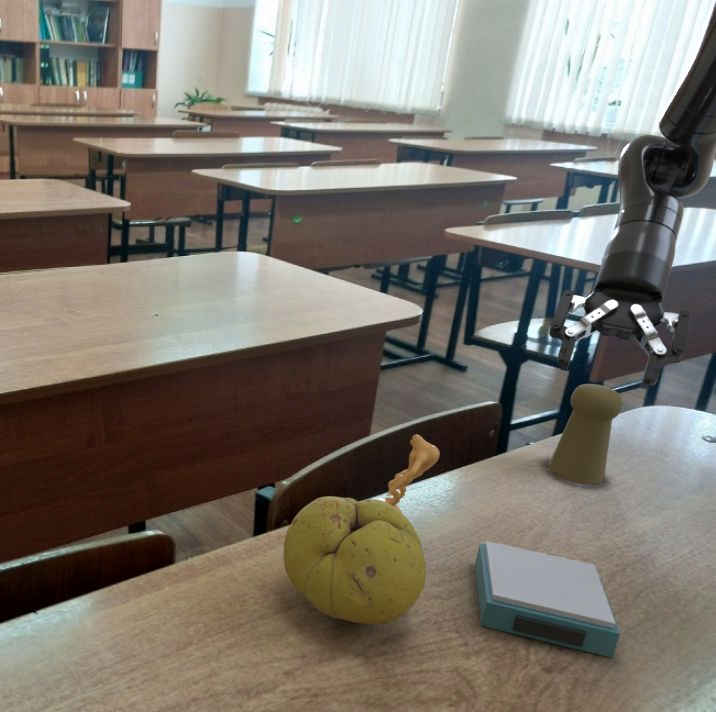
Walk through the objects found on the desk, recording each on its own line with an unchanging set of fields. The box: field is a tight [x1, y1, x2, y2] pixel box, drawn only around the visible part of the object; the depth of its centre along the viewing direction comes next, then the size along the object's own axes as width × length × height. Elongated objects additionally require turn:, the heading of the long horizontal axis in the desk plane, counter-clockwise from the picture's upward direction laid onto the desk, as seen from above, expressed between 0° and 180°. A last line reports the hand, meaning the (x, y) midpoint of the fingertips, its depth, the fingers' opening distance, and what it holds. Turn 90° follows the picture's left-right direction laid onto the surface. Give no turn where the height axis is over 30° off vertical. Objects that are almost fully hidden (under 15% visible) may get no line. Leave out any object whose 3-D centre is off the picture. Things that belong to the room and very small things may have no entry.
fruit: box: [283, 495, 427, 625], centre depth 62 cm, size 11×12×10 cm
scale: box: [474, 540, 621, 659], centre depth 64 cm, size 10×9×3 cm
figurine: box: [376, 434, 441, 514], centre depth 71 cm, size 8×6×12 cm
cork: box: [548, 383, 623, 485], centre depth 87 cm, size 6×6×11 cm
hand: (603, 376), depth 87 cm, fingers open, 8 cm apart
